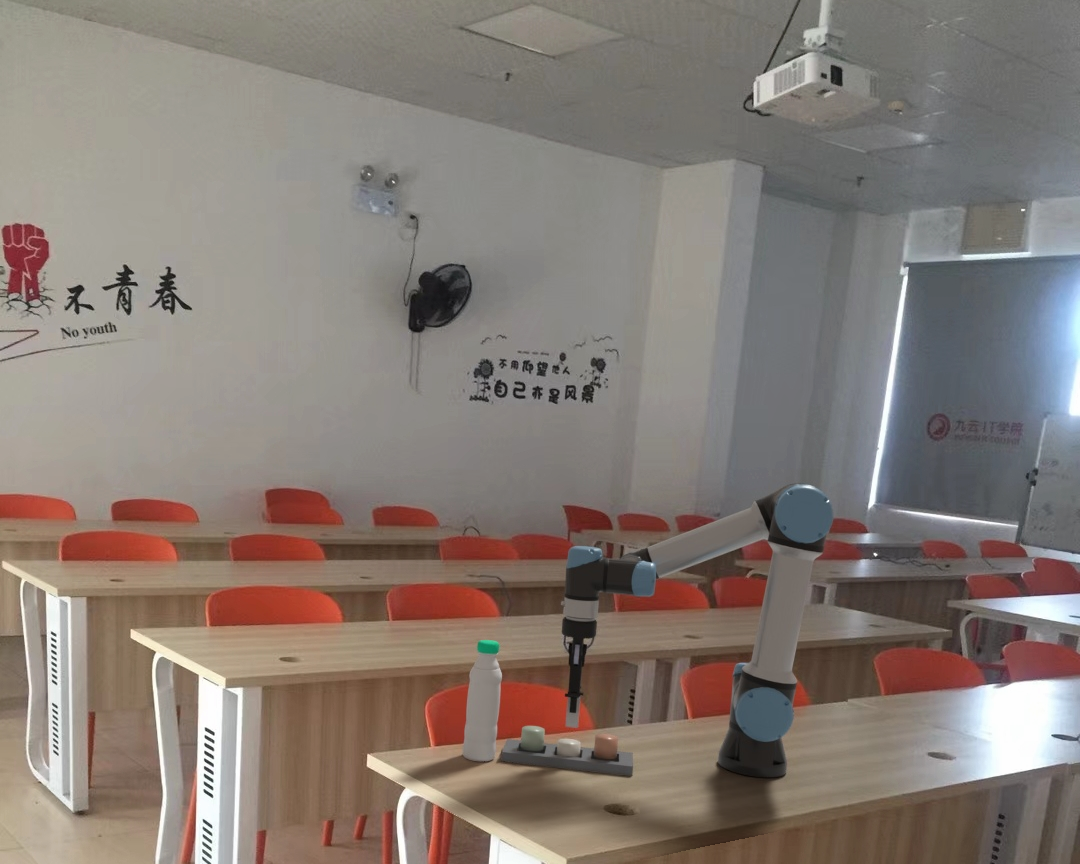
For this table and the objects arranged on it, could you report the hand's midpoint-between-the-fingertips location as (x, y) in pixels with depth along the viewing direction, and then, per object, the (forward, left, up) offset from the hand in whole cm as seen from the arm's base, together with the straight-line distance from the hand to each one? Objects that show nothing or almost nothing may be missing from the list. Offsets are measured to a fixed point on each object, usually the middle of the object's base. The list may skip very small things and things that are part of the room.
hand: (571, 726), depth 230 cm
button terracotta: (-8, 0, -6) cm, 10 cm away
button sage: (+8, 0, -6) cm, 10 cm away
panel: (0, 0, -8) cm, 8 cm away
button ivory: (0, 0, -8) cm, 8 cm away
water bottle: (+19, +4, -8) cm, 21 cm away
